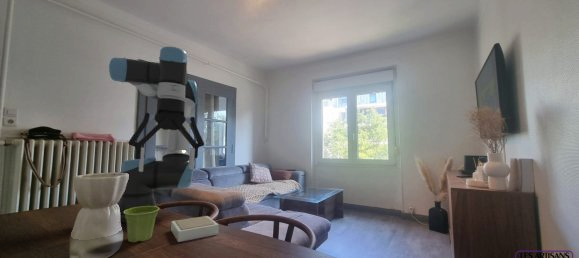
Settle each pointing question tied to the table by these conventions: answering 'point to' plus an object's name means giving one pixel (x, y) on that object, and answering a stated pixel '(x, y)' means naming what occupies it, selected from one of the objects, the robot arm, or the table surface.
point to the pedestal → (194, 228)
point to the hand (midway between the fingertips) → (167, 170)
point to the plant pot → (140, 222)
